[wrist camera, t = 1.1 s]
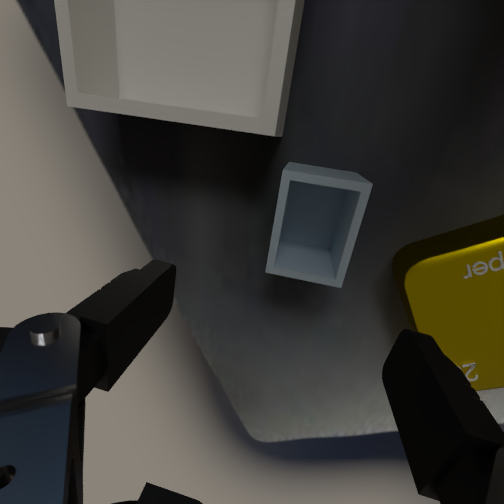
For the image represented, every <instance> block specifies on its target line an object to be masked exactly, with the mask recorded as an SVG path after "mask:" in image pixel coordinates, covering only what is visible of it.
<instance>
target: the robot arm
mask: <svg viewBox="0 0 504 504" xmlns="http://www.w3.org/2000/svg"><path fill="white" fill-rule="evenodd" d="M175 278H176V266H175V265H173V264H170V263H166V262H162V261H159V260H152V261H151V262H150V263H148V264H147V265H146V266H144V267H143V268H142V269H141V270H139V269H133V270H131V271H127V272H124V273H121V274H120V275H119V276H117V277H116V278H114V279H113V280H112V281H111V282H110V283H108V284H106V285H105V286H103V287H102V288H101V290H98V291H96V292H95V293H93V294H92V295H91V296H89V297H88V298H86V299H85V300H83V301H82V302H81V303H79V304H78V305H77V306H75V307H74V308H72V309H71V310H70V311H68V312H67V313H46V314H41V315H37V316H34V317H31V318H28V319H26V320H24V321H22V322H21V323H19V324H17V325H16V326H15V327H14V328H8V327H7V328H6V327H0V504H83V453H84V426H85V397H86V396H87V395H88V394H89V393H90V391H91V390H92V389H93V388H94V387H95V388H98V389H101V390H104V391H109V390H110V389H111V388H112V386H113V385H114V384H115V383H116V381H117V380H118V379H119V378H120V376H121V375H122V374H123V373H124V371H125V370H126V369H127V367H128V366H129V365H130V364H131V362H132V361H133V360H134V359H135V357H136V356H137V355H138V353H139V352H140V351H141V349H142V348H143V347H144V346H145V345H146V343H147V342H148V341H149V340H150V338H151V337H152V336H153V334H154V333H155V332H156V331H157V330H158V328H159V327H160V326H161V325H162V323H163V322H164V320H166V318H167V317H168V315H169V313H170V311H171V308H172V304H173V298H174V288H175ZM382 380H383V384H384V387H385V390H386V393H387V397H388V400H389V403H390V406H391V409H392V412H393V416H394V419H395V422H396V425H397V428H398V431H399V434H400V438H401V441H402V444H403V447H404V450H405V453H406V456H407V460H408V463H409V466H410V469H411V472H412V475H413V478H414V482H415V485H416V488H417V491H418V494H419V495H422V496H426V497H429V498H432V499H435V500H438V501H440V503H441V504H504V432H503V431H502V429H501V428H500V426H499V425H498V423H497V422H496V420H495V419H494V417H493V416H492V414H491V413H490V411H489V410H488V409H487V407H486V406H485V404H484V403H483V401H480V397H479V395H478V394H477V392H476V391H475V389H474V388H472V387H471V383H470V382H469V381H468V379H467V378H466V376H465V375H464V373H463V372H462V370H461V369H460V368H459V367H458V366H457V365H456V364H455V363H453V362H452V361H451V360H450V359H449V358H448V357H447V356H446V355H444V353H443V352H442V350H441V349H440V347H439V346H438V344H437V343H436V341H435V340H434V338H433V337H432V336H431V335H428V334H424V333H420V332H417V331H413V330H409V329H404V330H403V331H402V332H401V333H400V334H399V336H398V338H397V340H396V342H395V344H394V346H393V348H392V349H391V351H390V353H389V355H388V357H387V359H386V361H385V363H384V366H383V370H382ZM112 504H202V503H201V502H200V501H198V500H196V499H193V498H190V497H187V496H184V495H181V494H178V493H176V492H173V491H170V490H167V489H164V488H162V487H158V486H156V485H153V484H150V483H147V482H146V485H145V487H144V489H143V491H142V493H141V496H140V498H139V499H138V501H124V502H117V503H112Z"/></svg>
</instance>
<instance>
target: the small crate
mask: <svg viewBox="0 0 504 504" xmlns="http://www.w3.org/2000/svg"><path fill="white" fill-rule="evenodd" d="M372 185H373V184H372V183H370V182H369V181H368V180H366V179H365V178H363V177H362V176H360V175H359V174H358V173H356V172H350V171H343V170H337V169H330V168H324V167H318V166H311V165H305V164H298V163H292V162H289V163H288V164H287V165H286V167H285V168H284V169H283V172H282V178H281V184H280V190H279V195H278V201H277V207H276V213H275V219H274V225H273V230H272V236H271V242H270V248H269V254H268V260H267V265H266V271H265V272H266V273H271V274H275V275H280V276H285V277H290V278H295V279H300V280H304V281H309V282H314V283H319V284H324V285H329V286H333V287H338V288H341V287H342V284H343V281H344V277H345V274H346V271H347V267H348V264H349V261H350V258H351V254H352V251H353V248H354V244H355V241H356V238H357V235H358V231H359V228H360V225H361V222H362V218H363V215H364V212H365V208H366V205H367V202H368V199H369V195H370V192H371V189H372Z"/></svg>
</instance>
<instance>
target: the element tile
mask: <svg viewBox="0 0 504 504" xmlns="http://www.w3.org/2000/svg"><path fill="white" fill-rule="evenodd" d="M392 267H393V272H394V275H395V279H396V282H397V285H398V288H399V291H400V295H401V298H402V301H403V304H404V307H405V311H406V314H407V317H408V320H409V323H410V327H411V330H413V331H417V332H420V333H424V334H428V335H431V336H432V337H433V338H434V340H435V341H436V343H437V344H438V346H439V347H440V349H441V350H442V352H443V353H444V355H446V356H447V357H448V358H449V359H450V360H451V361H452V362H453V363H455V364H456V365H457V366H458V367H459V368H460V369H461V370H462V372H463V373H464V375H465V376H466V378H467V379H468V381H469V382H470V383H471V387H472V388H474V389H475V391H481V390H488V389H495V388H502V387H504V215H502V216H498V217H495V218H492V219H489V220H485V221H482V222H479V223H476V224H472V225H469V226H466V227H462V228H459V229H456V230H453V231H449V232H446V233H443V234H440V235H436V236H433V237H430V238H426V239H423V240H420V241H417V242H413V243H410V244H408V245H406V246H404V247H403V248H401V249H400V250H399V251H397V253H396V254H395V256H394V257H393V263H392Z"/></svg>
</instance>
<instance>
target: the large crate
mask: <svg viewBox="0 0 504 504" xmlns="http://www.w3.org/2000/svg"><path fill="white" fill-rule="evenodd" d="M304 1H305V0H54V2H55V10H56V18H57V27H58V35H59V43H60V51H61V59H62V68H63V76H64V84H65V92H66V100H67V106H70V107H77V108H84V109H91V110H97V111H104V112H111V113H118V114H125V115H132V116H139V117H145V118H152V119H159V120H166V121H173V122H180V123H187V124H194V125H200V126H207V127H214V128H221V129H228V130H235V131H242V132H248V133H255V134H262V135H269V136H277V137H282V135H283V129H284V123H285V117H286V111H287V105H288V99H289V93H290V86H291V80H292V74H293V68H294V62H295V56H296V50H297V44H298V37H299V31H300V25H301V19H302V13H303V7H304Z"/></svg>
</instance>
